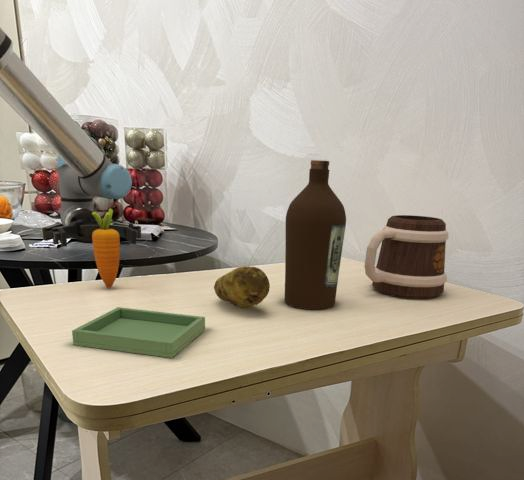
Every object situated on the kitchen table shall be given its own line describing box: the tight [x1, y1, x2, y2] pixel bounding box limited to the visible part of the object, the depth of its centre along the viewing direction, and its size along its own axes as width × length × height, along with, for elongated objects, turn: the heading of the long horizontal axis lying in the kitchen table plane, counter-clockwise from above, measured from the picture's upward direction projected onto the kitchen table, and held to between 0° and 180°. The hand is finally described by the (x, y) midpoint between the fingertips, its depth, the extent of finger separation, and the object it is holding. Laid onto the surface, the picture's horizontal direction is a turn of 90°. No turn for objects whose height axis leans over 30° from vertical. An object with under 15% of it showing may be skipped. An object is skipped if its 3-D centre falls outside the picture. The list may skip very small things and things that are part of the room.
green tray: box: [71, 306, 206, 359], centre depth 75 cm, size 15×13×2 cm
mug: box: [364, 214, 449, 300], centre depth 105 cm, size 20×15×15 cm
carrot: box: [92, 208, 121, 289], centre depth 99 cm, size 5×5×15 cm
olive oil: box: [284, 159, 347, 311], centre depth 92 cm, size 11×11×25 cm
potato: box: [213, 265, 271, 308], centre depth 90 cm, size 8×13×8 cm, turn 14°
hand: (100, 238), depth 104 cm, fingers open, 13 cm apart
